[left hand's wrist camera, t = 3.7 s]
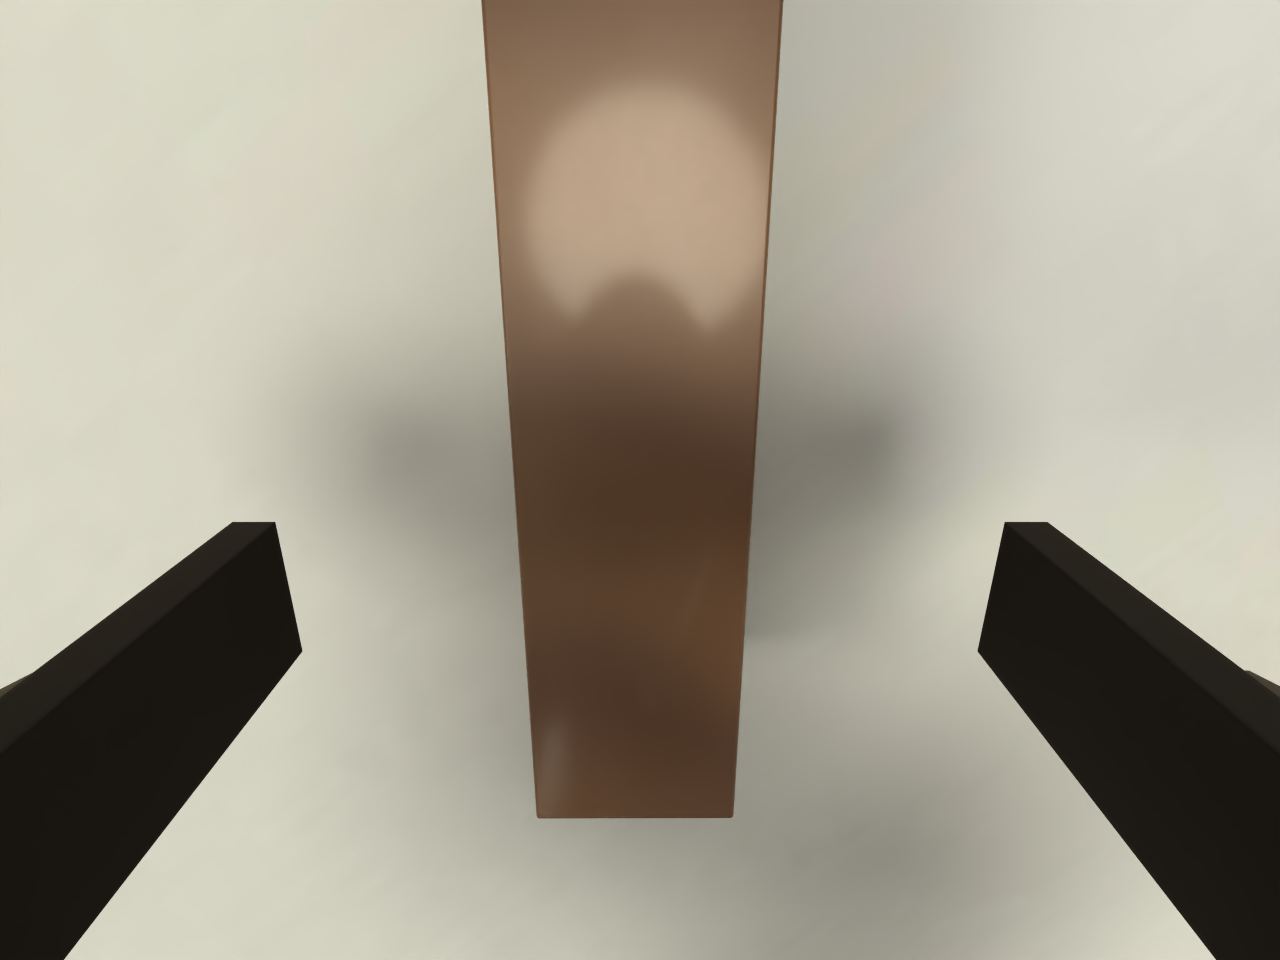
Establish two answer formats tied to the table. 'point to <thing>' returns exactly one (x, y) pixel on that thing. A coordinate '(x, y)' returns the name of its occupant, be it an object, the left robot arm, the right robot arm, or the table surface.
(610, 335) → the bar
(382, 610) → the table surface
